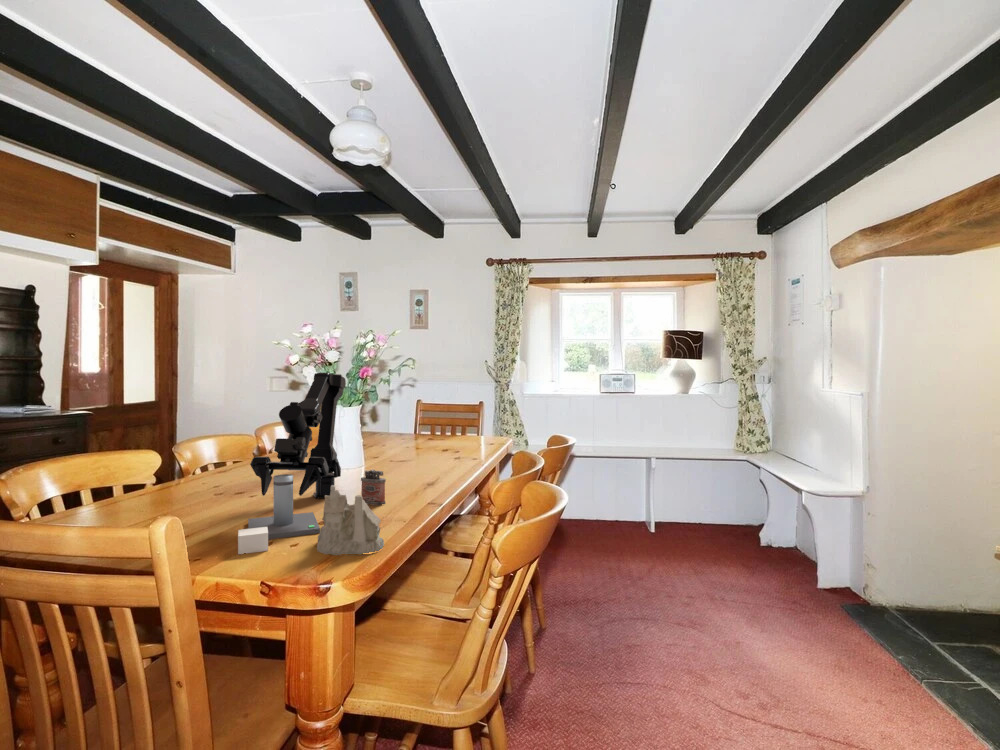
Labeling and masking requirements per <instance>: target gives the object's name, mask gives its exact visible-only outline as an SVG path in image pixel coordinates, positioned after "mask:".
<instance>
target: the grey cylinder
mask: <svg viewBox="0 0 1000 750" xmlns="http://www.w3.org/2000/svg"><path fill="white" fill-rule="evenodd" d="M293 514H294V475H293V474H291V473H290V474H289V473H287V474H278V475H274V476H273V524H274V525H275V526H286V525H290V524H292V523H293Z"/></svg>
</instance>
